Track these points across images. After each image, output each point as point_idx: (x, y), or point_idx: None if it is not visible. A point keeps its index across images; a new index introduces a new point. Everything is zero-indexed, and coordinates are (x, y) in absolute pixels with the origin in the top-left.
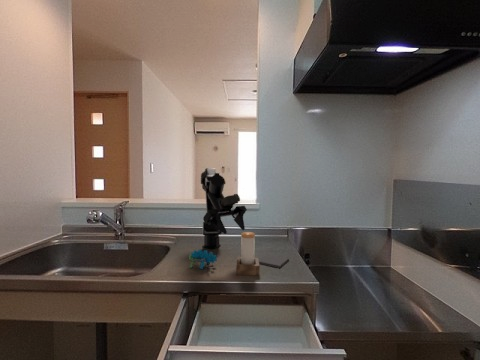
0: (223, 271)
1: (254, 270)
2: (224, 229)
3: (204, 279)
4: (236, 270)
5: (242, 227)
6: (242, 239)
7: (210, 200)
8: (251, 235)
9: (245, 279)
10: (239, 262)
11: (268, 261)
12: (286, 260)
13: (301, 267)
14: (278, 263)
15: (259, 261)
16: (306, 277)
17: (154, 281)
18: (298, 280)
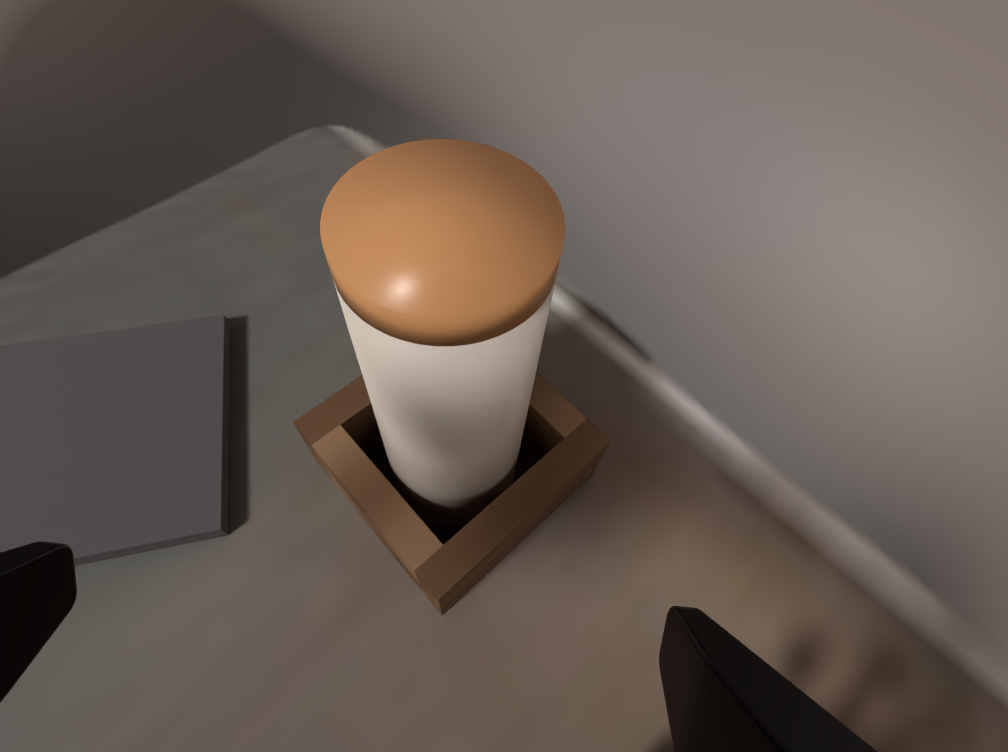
0: (627, 622)
1: None
2: (749, 656)
3: (866, 610)
4: (600, 457)
5: (18, 610)
6: (550, 298)
7: None
8: (487, 146)
9: (591, 378)
10: (531, 473)
11: (168, 433)
12: (48, 341)
13: (128, 230)
14: (172, 346)
15: (216, 496)
16: (290, 157)
17: None
18: None
